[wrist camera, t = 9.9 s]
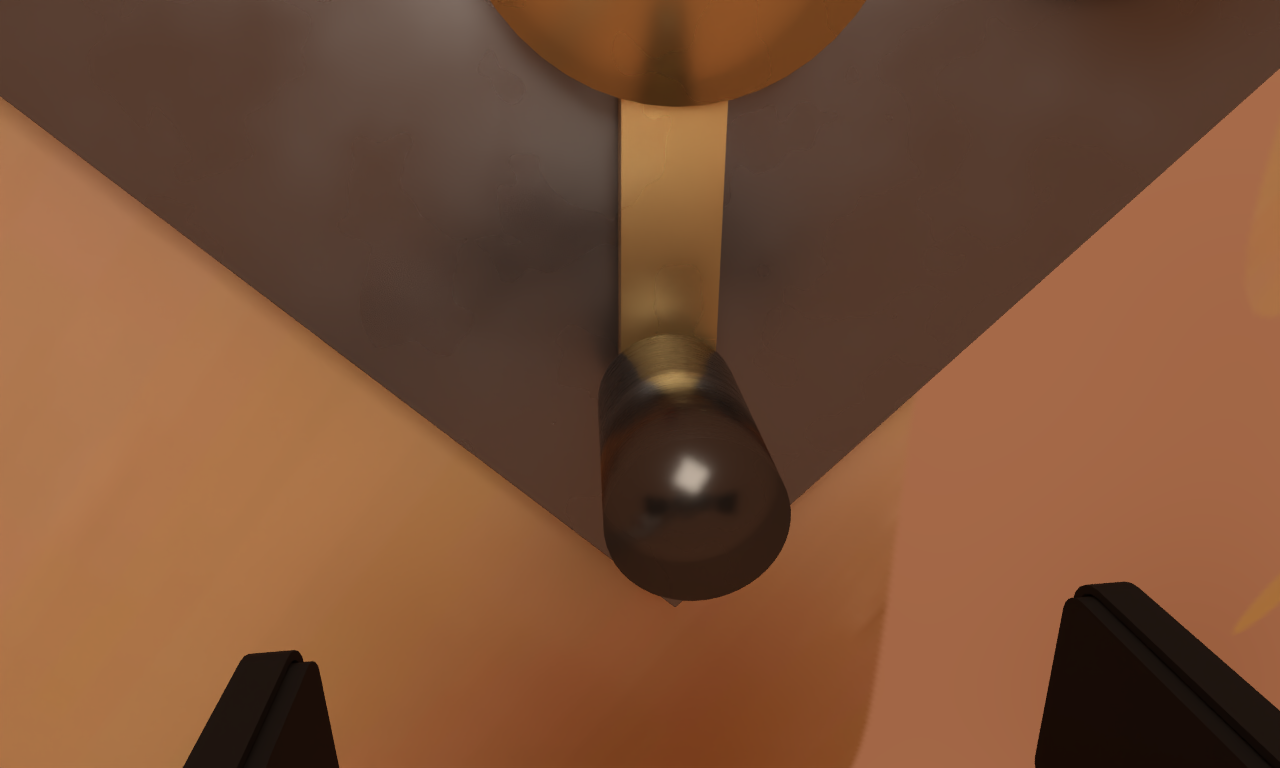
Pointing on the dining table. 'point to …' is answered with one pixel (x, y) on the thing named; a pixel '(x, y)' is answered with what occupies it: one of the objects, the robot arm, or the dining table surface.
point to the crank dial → (679, 275)
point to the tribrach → (588, 191)
